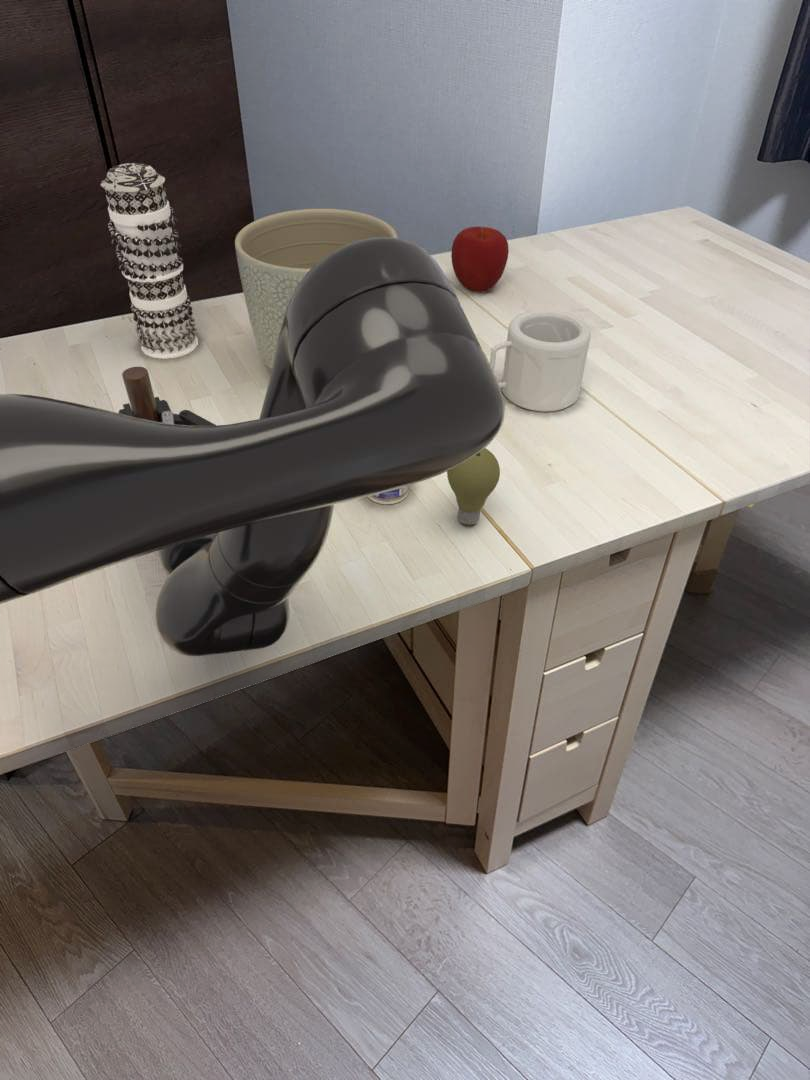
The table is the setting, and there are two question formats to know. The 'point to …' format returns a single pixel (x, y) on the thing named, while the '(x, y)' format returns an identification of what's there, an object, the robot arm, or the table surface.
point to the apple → (479, 257)
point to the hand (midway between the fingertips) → (142, 407)
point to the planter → (291, 260)
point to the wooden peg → (140, 393)
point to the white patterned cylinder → (150, 259)
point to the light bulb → (474, 484)
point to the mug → (544, 359)
